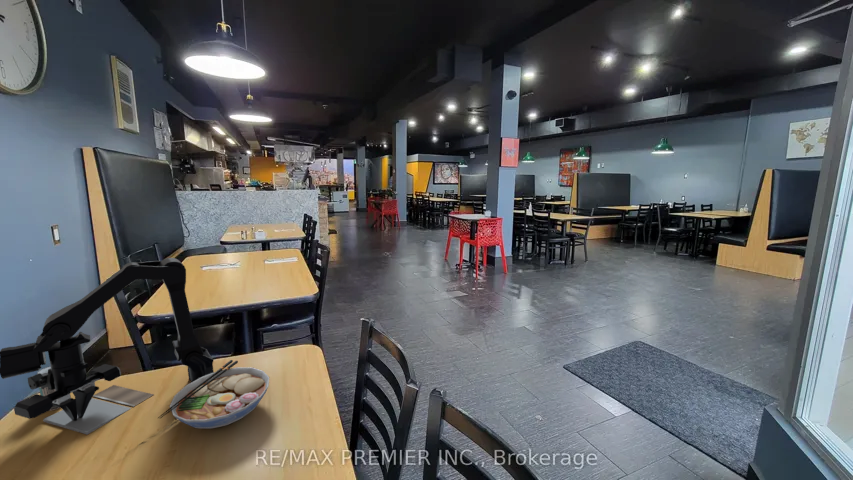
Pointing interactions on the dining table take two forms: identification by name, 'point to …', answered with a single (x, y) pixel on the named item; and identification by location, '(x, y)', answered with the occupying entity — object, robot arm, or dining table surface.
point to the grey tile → (88, 416)
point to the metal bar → (123, 395)
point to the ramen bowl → (220, 397)
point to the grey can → (46, 390)
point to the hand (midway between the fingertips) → (77, 418)
